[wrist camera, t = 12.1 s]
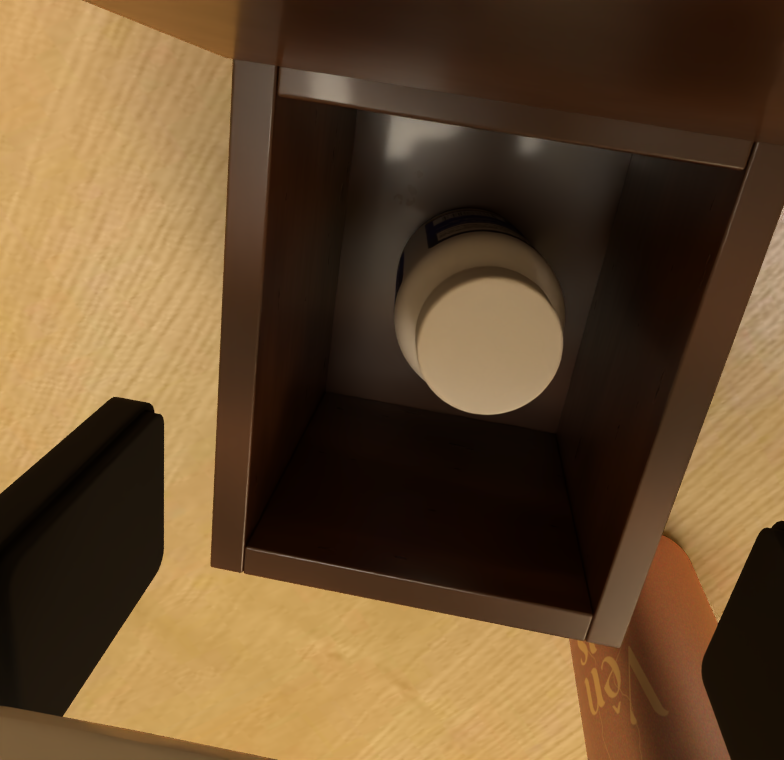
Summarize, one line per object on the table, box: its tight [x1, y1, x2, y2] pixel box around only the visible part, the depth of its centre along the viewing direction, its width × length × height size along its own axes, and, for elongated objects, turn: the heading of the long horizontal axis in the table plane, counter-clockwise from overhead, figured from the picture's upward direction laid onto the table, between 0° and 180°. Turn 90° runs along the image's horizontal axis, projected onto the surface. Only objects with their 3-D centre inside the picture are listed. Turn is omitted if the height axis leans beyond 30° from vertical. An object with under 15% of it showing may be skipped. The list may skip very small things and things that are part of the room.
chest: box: [211, 59, 784, 648], centre depth 22 cm, size 14×12×12 cm
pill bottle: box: [394, 208, 565, 415], centre depth 23 cm, size 5×5×9 cm
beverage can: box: [569, 535, 731, 760], centre depth 26 cm, size 6×6×15 cm
